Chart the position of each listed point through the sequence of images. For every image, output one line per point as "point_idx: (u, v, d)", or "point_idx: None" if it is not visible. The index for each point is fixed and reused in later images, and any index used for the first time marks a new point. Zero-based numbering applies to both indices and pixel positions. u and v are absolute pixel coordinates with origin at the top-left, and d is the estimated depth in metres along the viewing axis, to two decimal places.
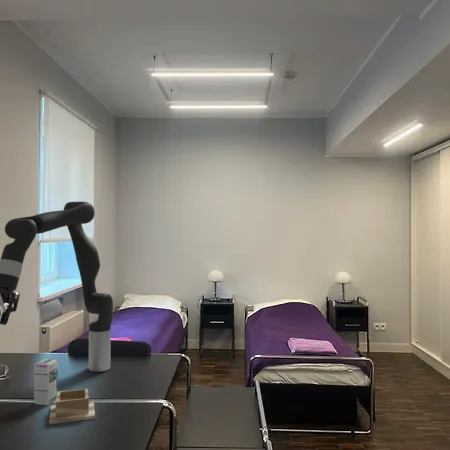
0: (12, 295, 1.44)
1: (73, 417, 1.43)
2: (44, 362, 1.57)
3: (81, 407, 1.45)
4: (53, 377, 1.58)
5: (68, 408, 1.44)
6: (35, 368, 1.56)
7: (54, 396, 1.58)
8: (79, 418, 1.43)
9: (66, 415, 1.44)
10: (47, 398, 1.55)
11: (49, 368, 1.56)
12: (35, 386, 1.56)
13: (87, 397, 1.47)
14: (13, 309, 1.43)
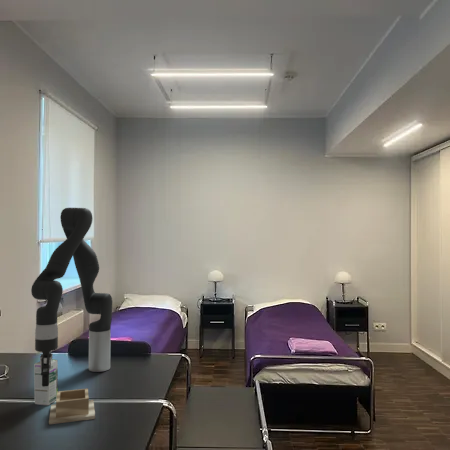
0: None
1: (73, 417, 1.43)
2: None
3: (81, 407, 1.45)
4: (53, 377, 1.58)
5: (68, 408, 1.44)
6: (35, 368, 1.56)
7: (54, 396, 1.58)
8: (79, 418, 1.43)
9: (66, 415, 1.44)
10: (47, 398, 1.55)
11: None
12: (35, 386, 1.56)
13: (87, 397, 1.47)
14: (45, 374, 1.52)
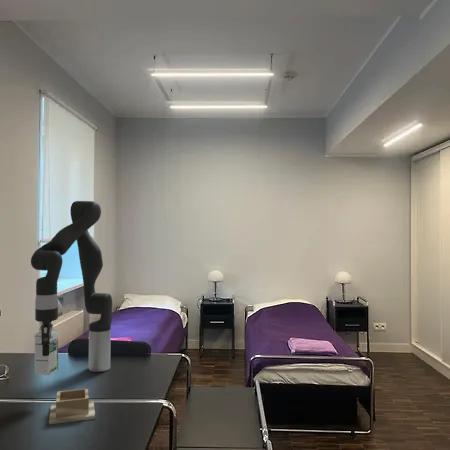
0: (41, 330, 1.52)
1: (73, 417, 1.43)
2: None
3: (81, 407, 1.45)
4: (54, 347, 1.58)
5: (68, 408, 1.44)
6: (35, 338, 1.56)
7: (54, 366, 1.58)
8: (79, 418, 1.43)
9: (66, 415, 1.44)
10: (47, 368, 1.55)
11: None
12: (35, 356, 1.56)
13: (87, 397, 1.47)
14: (45, 343, 1.52)
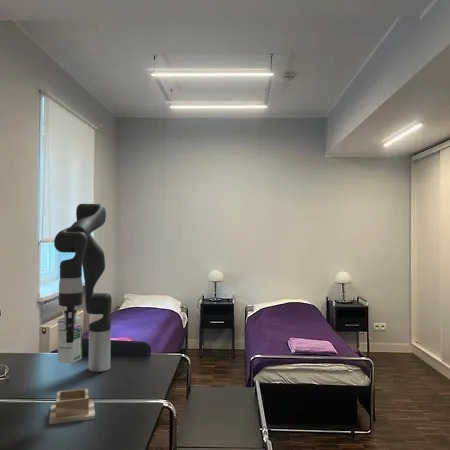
0: (66, 315, 1.43)
1: (73, 417, 1.43)
2: None
3: (81, 407, 1.45)
4: (78, 334, 1.49)
5: (68, 408, 1.44)
6: (58, 324, 1.47)
7: (78, 354, 1.49)
8: (79, 418, 1.43)
9: (66, 415, 1.44)
10: (71, 356, 1.46)
11: None
12: (58, 343, 1.47)
13: (87, 397, 1.47)
14: (70, 329, 1.43)
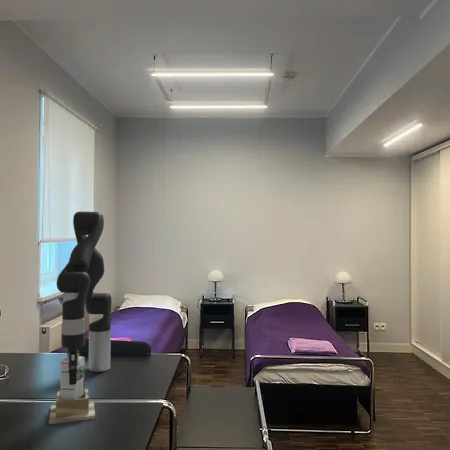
0: (69, 358, 1.43)
1: (73, 417, 1.43)
2: None
3: (81, 407, 1.45)
4: (81, 375, 1.49)
5: (68, 408, 1.44)
6: (61, 366, 1.47)
7: (81, 395, 1.49)
8: (79, 418, 1.43)
9: (66, 415, 1.44)
10: (74, 397, 1.46)
11: None
12: (61, 384, 1.47)
13: (87, 397, 1.47)
14: (73, 371, 1.43)
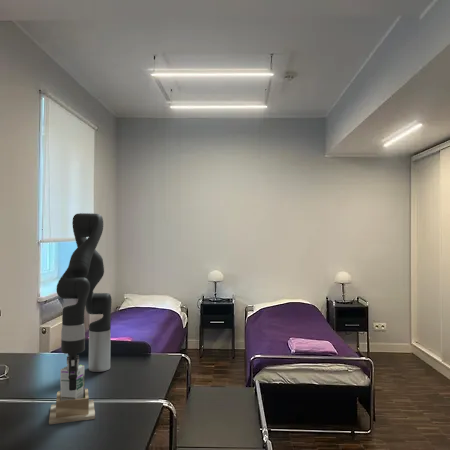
0: (69, 363, 1.43)
1: (73, 417, 1.43)
2: None
3: (81, 407, 1.45)
4: (81, 384, 1.49)
5: (68, 408, 1.44)
6: (61, 374, 1.47)
7: None
8: (79, 418, 1.43)
9: (66, 415, 1.44)
10: None
11: None
12: (61, 393, 1.47)
13: (87, 397, 1.47)
14: (73, 377, 1.42)
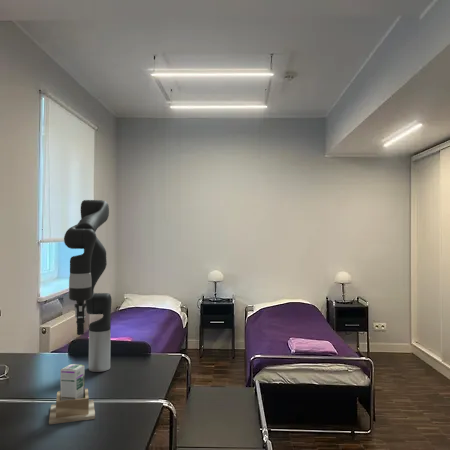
0: (76, 309, 1.50)
1: (73, 417, 1.43)
2: (71, 368, 1.47)
3: (81, 407, 1.45)
4: (81, 384, 1.49)
5: (68, 408, 1.44)
6: (61, 374, 1.47)
7: None
8: (79, 418, 1.43)
9: (66, 415, 1.44)
10: None
11: (76, 374, 1.46)
12: (61, 393, 1.47)
13: (87, 397, 1.47)
14: (80, 321, 1.50)
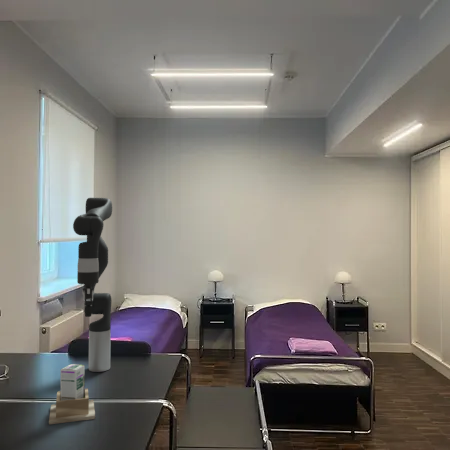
0: (85, 291, 1.58)
1: (73, 417, 1.43)
2: (71, 368, 1.47)
3: (81, 407, 1.45)
4: (81, 384, 1.49)
5: (68, 408, 1.44)
6: (61, 374, 1.47)
7: None
8: (79, 418, 1.43)
9: (66, 415, 1.44)
10: None
11: (76, 374, 1.46)
12: (61, 393, 1.47)
13: (87, 397, 1.47)
14: (88, 303, 1.57)
